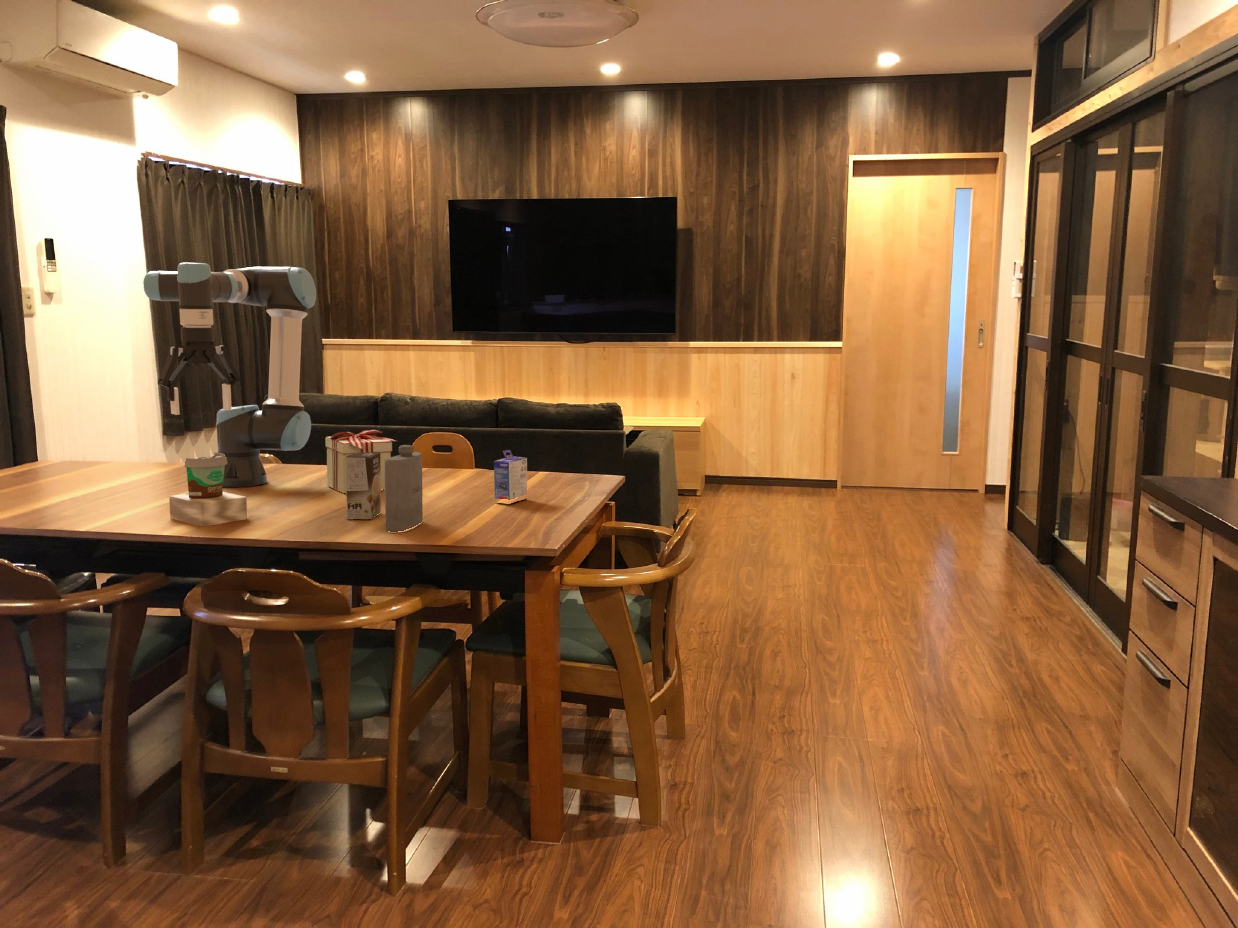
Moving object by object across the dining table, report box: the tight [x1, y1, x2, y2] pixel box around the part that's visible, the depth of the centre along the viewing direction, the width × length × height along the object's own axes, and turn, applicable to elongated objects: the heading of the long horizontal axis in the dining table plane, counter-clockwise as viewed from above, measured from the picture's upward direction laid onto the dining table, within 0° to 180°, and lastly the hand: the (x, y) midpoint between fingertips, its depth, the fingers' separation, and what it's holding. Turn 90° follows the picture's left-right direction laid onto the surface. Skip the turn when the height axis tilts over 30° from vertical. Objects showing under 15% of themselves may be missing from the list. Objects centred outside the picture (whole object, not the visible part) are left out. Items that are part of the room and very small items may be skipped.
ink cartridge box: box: [493, 449, 528, 500], centre depth 266 cm, size 10×6×14 cm, turn 155°
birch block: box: [168, 491, 248, 528], centre depth 235 cm, size 12×14×6 cm
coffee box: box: [346, 452, 382, 520], centre depth 241 cm, size 9×6×16 cm
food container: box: [184, 452, 227, 499], centre depth 234 cm, size 12×6×10 cm, turn 168°
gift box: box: [325, 429, 397, 494], centre depth 280 cm, size 17×18×17 cm
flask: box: [384, 444, 424, 532], centre depth 230 cm, size 15×6×20 cm, turn 170°
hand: (202, 412), depth 238 cm, fingers open, 13 cm apart
